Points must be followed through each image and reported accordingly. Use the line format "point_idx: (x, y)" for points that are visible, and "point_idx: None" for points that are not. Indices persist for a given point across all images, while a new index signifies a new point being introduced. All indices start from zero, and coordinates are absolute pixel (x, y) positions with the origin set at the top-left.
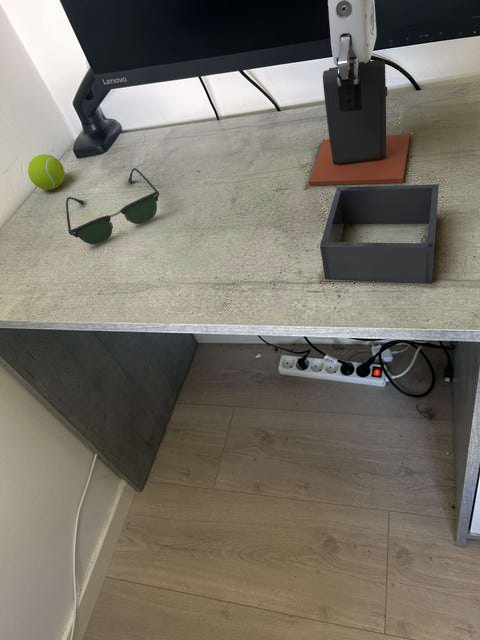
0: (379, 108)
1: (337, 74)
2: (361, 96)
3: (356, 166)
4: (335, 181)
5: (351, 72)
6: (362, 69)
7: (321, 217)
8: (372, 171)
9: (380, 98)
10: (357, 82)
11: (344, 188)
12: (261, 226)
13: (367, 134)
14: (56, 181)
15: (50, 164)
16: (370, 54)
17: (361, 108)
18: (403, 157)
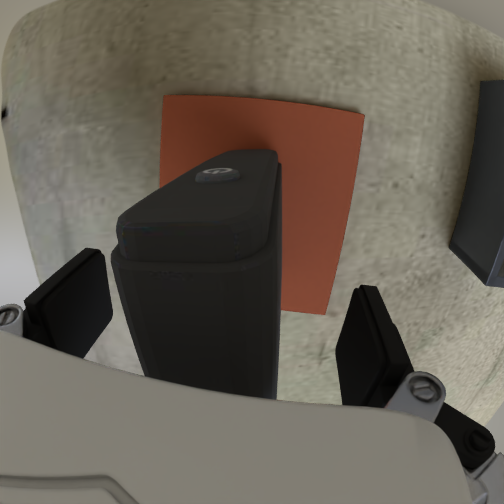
0: (279, 195)
1: None
2: (385, 314)
3: (291, 219)
4: (337, 263)
5: (492, 449)
6: (243, 361)
7: (429, 280)
8: (320, 182)
9: (273, 201)
10: (442, 384)
11: (495, 270)
12: (412, 363)
13: (281, 214)
14: None
15: None
16: (351, 428)
17: (374, 287)
18: (272, 106)
